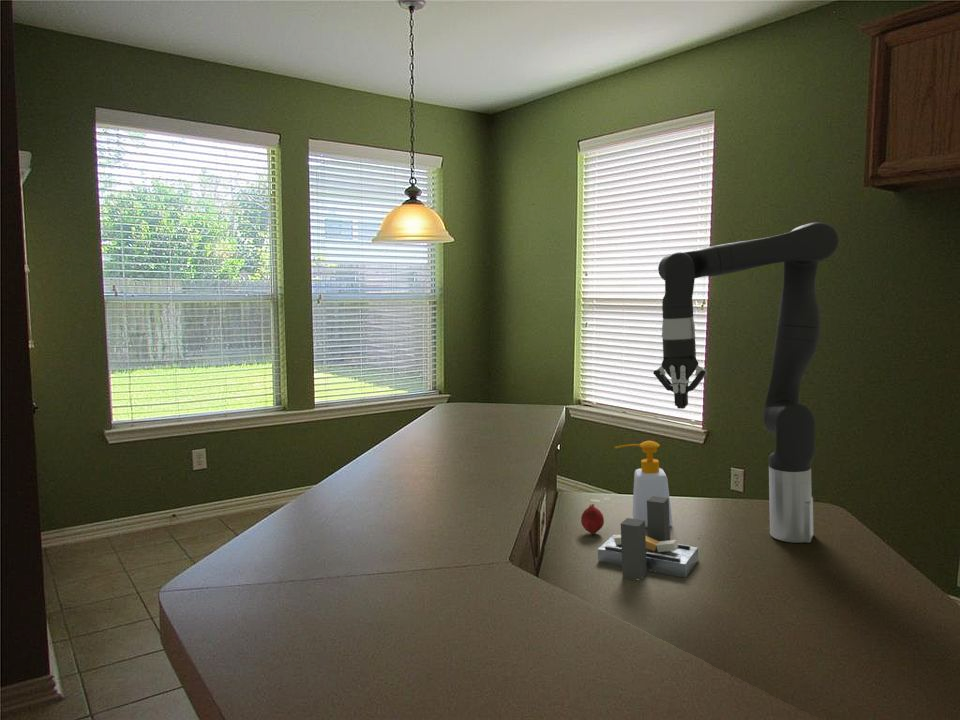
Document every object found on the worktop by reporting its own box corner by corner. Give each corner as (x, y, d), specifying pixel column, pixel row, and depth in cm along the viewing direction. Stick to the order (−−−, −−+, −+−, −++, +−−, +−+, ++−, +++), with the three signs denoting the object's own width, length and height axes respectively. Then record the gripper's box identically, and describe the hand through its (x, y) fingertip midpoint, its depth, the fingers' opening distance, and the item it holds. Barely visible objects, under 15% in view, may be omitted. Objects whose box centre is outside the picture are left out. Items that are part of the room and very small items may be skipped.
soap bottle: (616, 517, 177) (613, 438, 175) (668, 516, 175) (665, 436, 173) (618, 529, 168) (615, 446, 166) (673, 529, 166) (670, 444, 164)
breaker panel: (698, 560, 146) (697, 545, 145) (685, 577, 137) (685, 561, 137) (614, 546, 157) (613, 532, 156) (598, 561, 148) (597, 546, 148)
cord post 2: (670, 546, 155) (668, 497, 153) (665, 552, 151) (663, 502, 150) (654, 543, 157) (652, 496, 156) (648, 549, 153) (646, 500, 152)
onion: (604, 538, 162) (602, 507, 161) (581, 538, 163) (579, 507, 163) (604, 530, 168) (603, 500, 167) (582, 529, 169) (580, 500, 168)
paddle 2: (678, 546, 144) (676, 539, 144) (675, 550, 142) (673, 543, 142) (661, 548, 146) (659, 541, 146) (658, 552, 144) (656, 545, 144)
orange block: (657, 547, 147) (659, 541, 146) (654, 551, 145) (656, 545, 144) (641, 540, 149) (642, 534, 148) (637, 544, 147) (639, 538, 146)
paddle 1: (635, 539, 149) (633, 533, 149) (631, 543, 147) (629, 536, 147) (619, 541, 152) (617, 534, 152) (615, 544, 150) (613, 538, 150)
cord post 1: (646, 573, 140) (644, 520, 139) (640, 580, 137) (638, 526, 136) (629, 570, 143) (627, 518, 142) (622, 577, 139) (620, 523, 138)
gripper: (711, 334, 153) (713, 406, 155) (656, 336, 161) (659, 404, 162) (703, 337, 147) (705, 412, 149) (646, 338, 154) (649, 409, 156)
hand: (681, 408), depth 155 cm, fingers closed
